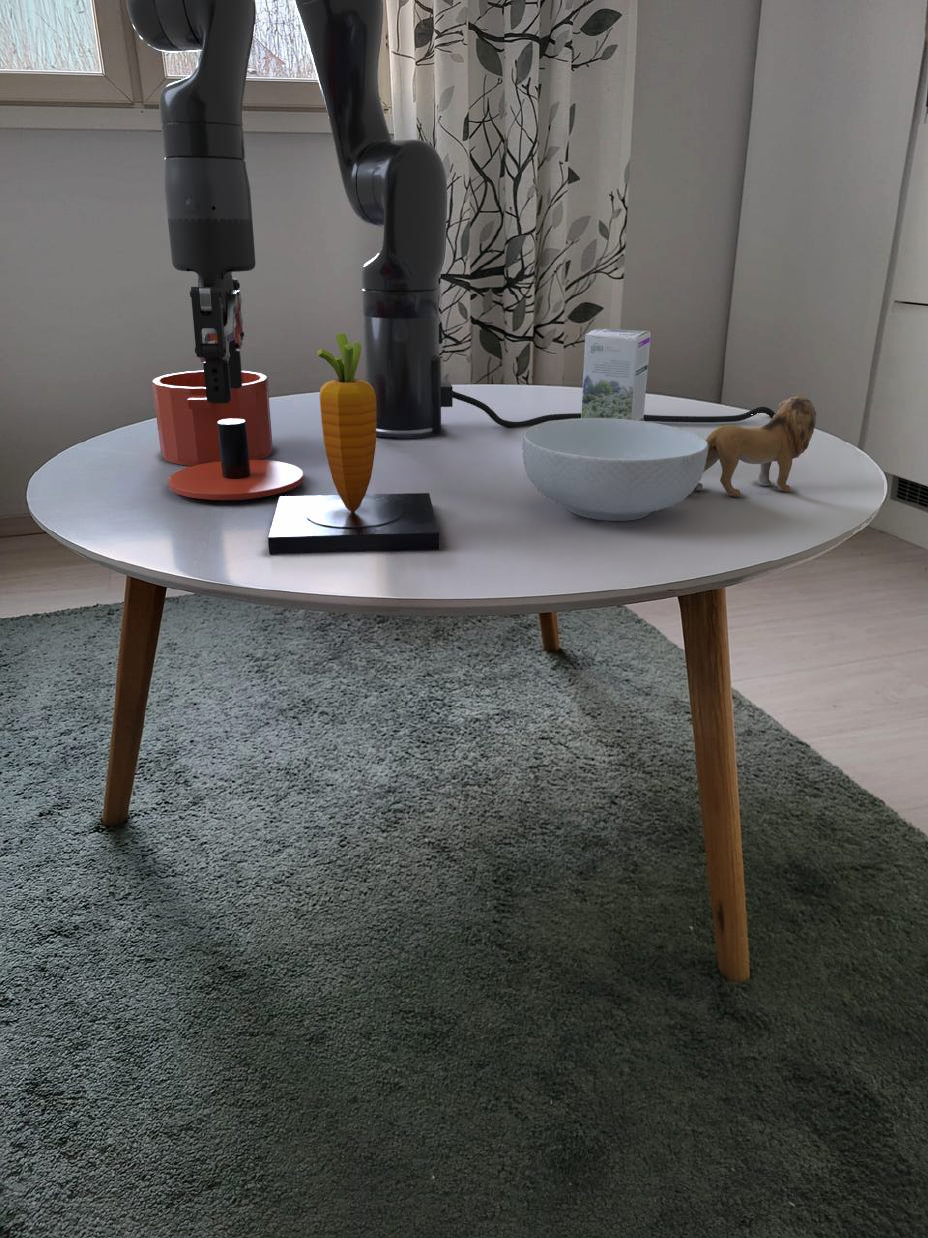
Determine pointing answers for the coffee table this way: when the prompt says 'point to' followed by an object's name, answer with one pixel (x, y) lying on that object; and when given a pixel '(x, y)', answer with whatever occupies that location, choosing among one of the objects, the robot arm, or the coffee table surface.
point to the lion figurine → (763, 444)
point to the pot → (208, 417)
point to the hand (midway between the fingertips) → (225, 394)
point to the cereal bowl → (613, 465)
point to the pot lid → (235, 471)
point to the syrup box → (615, 374)
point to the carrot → (348, 425)
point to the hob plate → (353, 524)
